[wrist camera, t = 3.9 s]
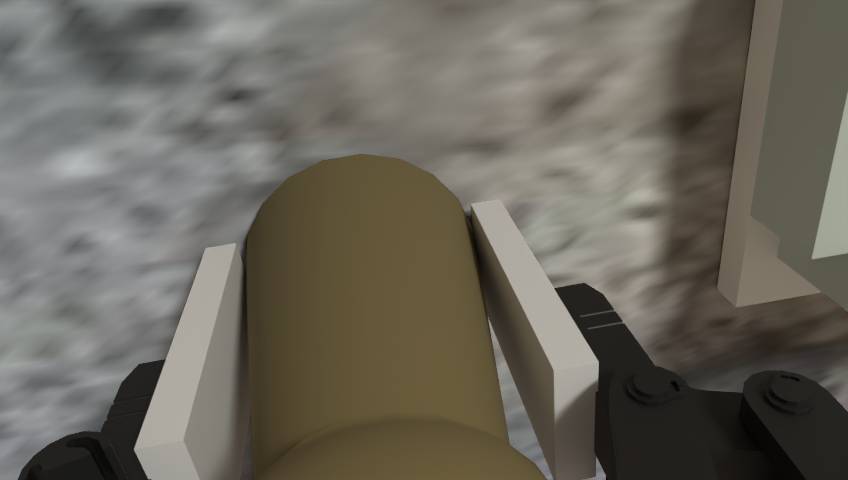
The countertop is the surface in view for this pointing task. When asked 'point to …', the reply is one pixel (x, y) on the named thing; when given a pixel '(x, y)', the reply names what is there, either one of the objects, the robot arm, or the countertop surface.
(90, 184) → the countertop surface
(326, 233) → the brown rounded knob
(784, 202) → the holder
